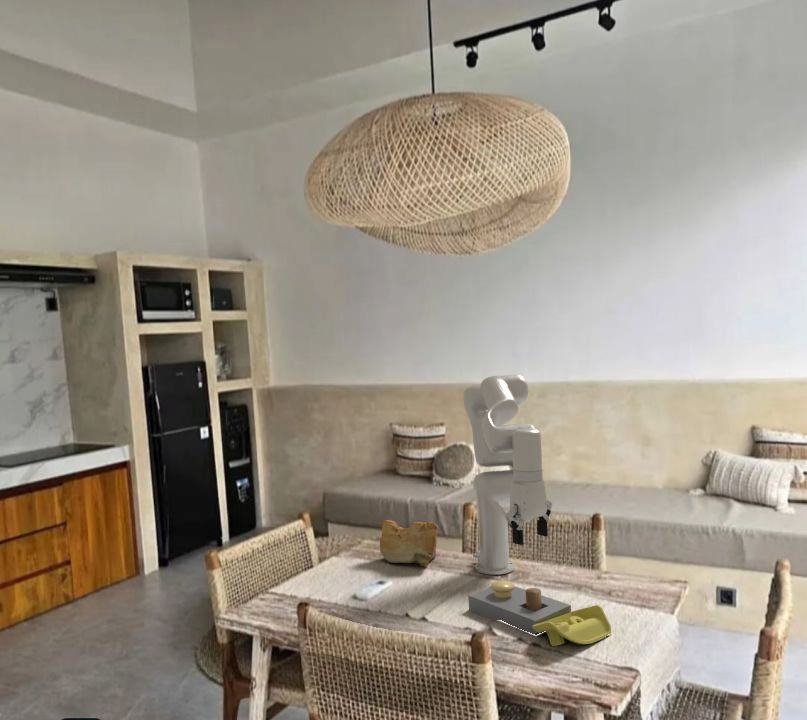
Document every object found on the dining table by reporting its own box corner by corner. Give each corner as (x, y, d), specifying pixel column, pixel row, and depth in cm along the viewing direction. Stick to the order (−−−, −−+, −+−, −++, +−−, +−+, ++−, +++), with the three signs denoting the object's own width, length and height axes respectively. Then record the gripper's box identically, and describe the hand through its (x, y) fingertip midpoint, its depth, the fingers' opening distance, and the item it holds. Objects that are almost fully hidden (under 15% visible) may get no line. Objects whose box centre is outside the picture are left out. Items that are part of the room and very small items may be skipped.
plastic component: (573, 610, 175) (603, 603, 169) (584, 640, 173) (614, 633, 166) (524, 628, 163) (554, 620, 156) (534, 660, 160) (565, 654, 153)
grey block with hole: (468, 609, 185) (467, 585, 185) (503, 595, 194) (502, 572, 193) (536, 636, 166) (534, 609, 166) (571, 620, 175) (570, 594, 175)
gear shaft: (523, 620, 176) (522, 590, 176) (533, 616, 178) (532, 586, 178) (535, 625, 173) (534, 594, 173) (545, 620, 175) (544, 590, 175)
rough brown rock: (459, 562, 228) (458, 517, 229) (430, 572, 215) (428, 525, 216) (406, 553, 243) (405, 511, 244) (375, 562, 230) (375, 518, 231)
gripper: (538, 468, 185) (541, 529, 185) (494, 479, 174) (497, 544, 175) (560, 472, 179) (562, 535, 179) (516, 483, 168) (519, 550, 169)
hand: (530, 539), depth 177 cm, fingers open, 9 cm apart
